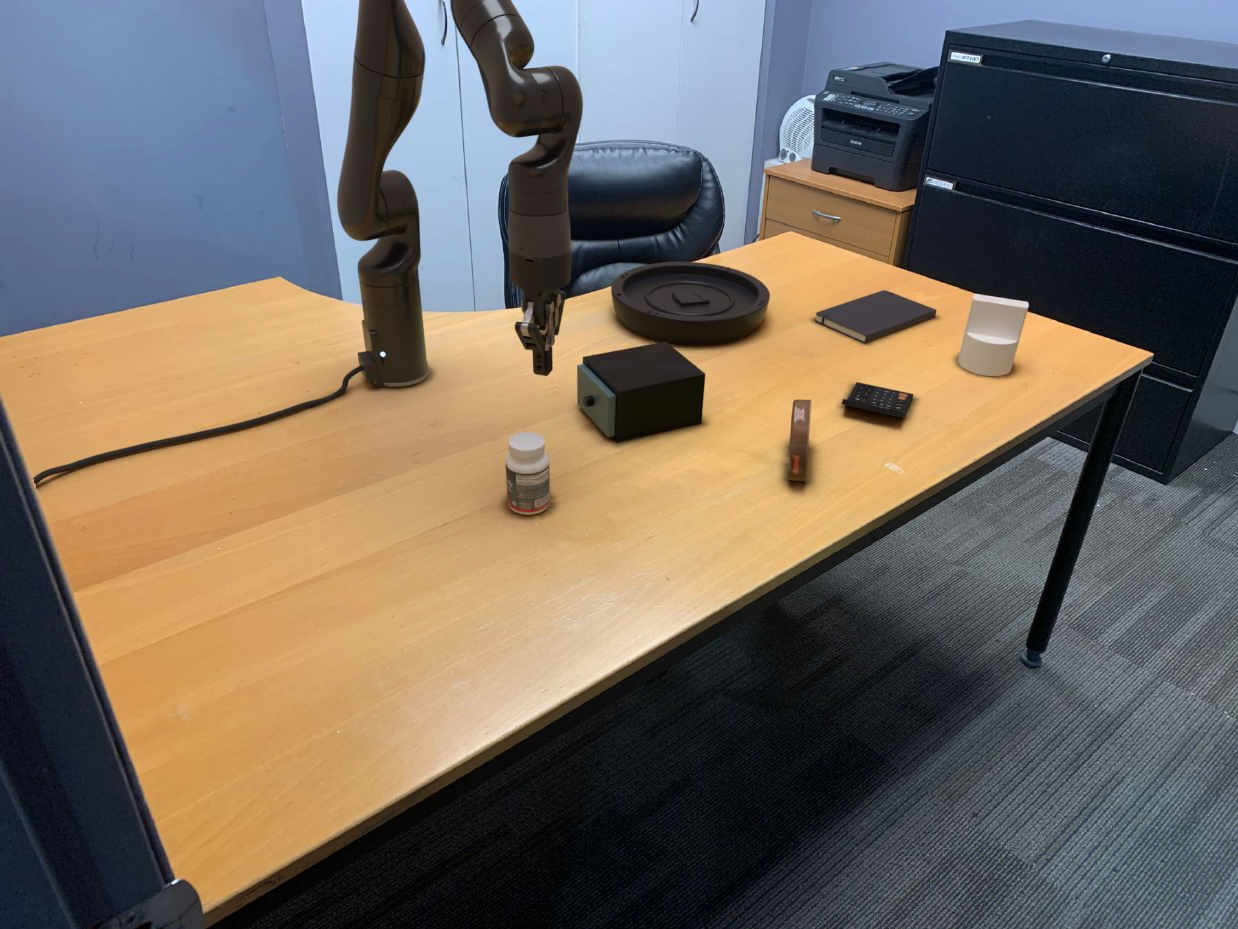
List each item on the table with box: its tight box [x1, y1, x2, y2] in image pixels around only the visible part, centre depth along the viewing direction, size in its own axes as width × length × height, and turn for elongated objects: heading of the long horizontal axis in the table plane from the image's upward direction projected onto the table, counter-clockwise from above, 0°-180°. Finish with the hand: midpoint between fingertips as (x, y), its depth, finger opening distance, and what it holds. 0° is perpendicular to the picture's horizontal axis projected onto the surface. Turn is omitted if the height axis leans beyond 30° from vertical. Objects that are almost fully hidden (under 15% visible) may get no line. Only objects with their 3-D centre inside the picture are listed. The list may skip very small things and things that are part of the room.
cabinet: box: [582, 341, 706, 444], centre depth 144 cm, size 15×13×9 cm
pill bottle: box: [505, 431, 551, 516], centre depth 122 cm, size 6×6×10 cm
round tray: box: [610, 261, 771, 346], centre depth 178 cm, size 30×6×30 cm
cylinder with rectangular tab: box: [957, 293, 1030, 377], centre depth 161 cm, size 9×9×12 cm
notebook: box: [814, 289, 938, 344], centre depth 180 cm, size 13×2×21 cm
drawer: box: [576, 363, 616, 438], centre depth 143 cm, size 15×11×7 cm
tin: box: [787, 398, 812, 483], centre depth 132 cm, size 15×3×8 cm, turn 168°
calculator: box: [841, 381, 914, 419], centre depth 149 cm, size 9×12×3 cm
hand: (542, 372), depth 122 cm, fingers closed
